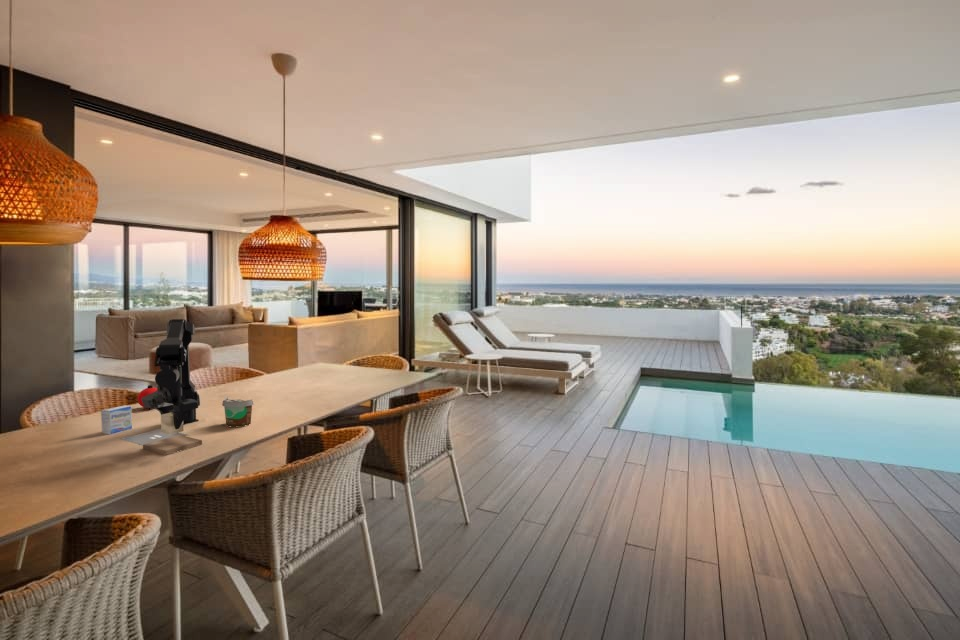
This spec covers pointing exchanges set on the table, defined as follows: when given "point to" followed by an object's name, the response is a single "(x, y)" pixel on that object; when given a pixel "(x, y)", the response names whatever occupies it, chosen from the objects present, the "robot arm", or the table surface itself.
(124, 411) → the medicine box
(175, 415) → the robot arm
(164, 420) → the maple block
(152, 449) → the walnut board
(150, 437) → the tile
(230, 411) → the food container
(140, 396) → the ornament
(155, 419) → the table surface
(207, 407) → the table surface
